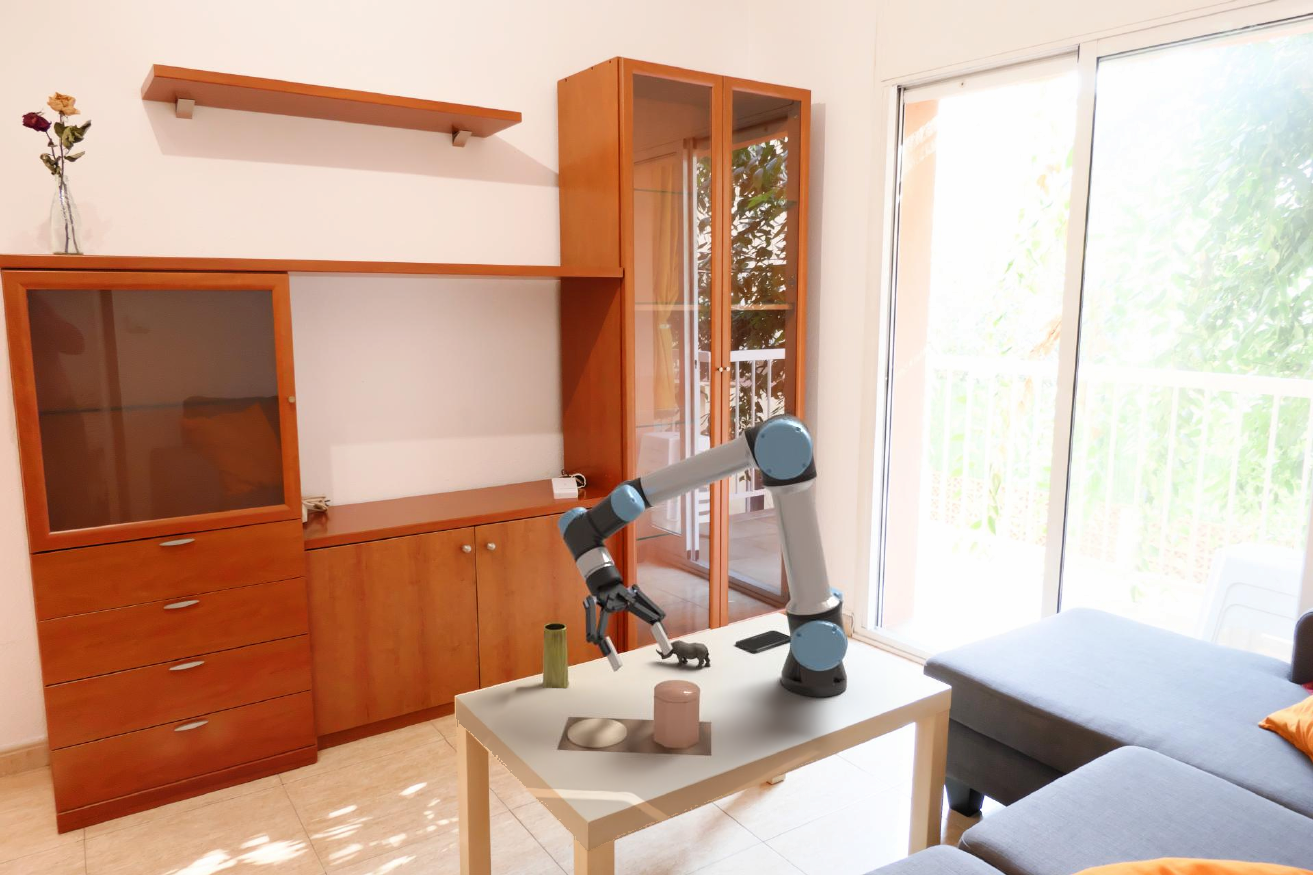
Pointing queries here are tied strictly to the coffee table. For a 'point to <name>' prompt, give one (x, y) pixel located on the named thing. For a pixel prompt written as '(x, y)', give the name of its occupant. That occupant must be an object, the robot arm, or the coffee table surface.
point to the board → (641, 739)
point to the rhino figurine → (688, 653)
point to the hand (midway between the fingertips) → (644, 659)
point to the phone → (763, 641)
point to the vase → (555, 656)
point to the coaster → (597, 733)
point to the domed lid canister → (676, 713)
